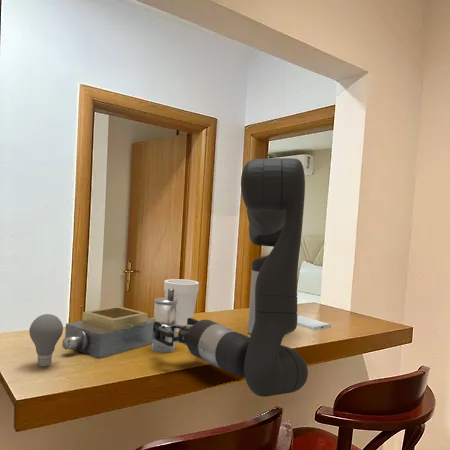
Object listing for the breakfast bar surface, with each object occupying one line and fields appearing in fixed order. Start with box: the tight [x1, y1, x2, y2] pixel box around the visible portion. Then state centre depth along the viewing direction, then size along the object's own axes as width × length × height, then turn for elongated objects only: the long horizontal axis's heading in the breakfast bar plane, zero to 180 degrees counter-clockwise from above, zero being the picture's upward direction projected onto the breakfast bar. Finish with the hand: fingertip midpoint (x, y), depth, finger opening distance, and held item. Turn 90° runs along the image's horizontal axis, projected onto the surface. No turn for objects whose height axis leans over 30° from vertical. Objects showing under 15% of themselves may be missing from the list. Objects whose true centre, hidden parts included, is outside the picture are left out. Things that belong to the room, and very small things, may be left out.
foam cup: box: [163, 278, 200, 333], centre depth 114 cm, size 10×9×13 cm
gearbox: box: [61, 305, 154, 359], centre depth 96 cm, size 22×12×7 cm, turn 146°
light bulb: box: [29, 313, 64, 368], centre depth 81 cm, size 6×6×10 cm
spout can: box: [151, 289, 178, 354], centre depth 96 cm, size 5×5×14 cm
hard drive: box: [297, 314, 332, 331], centre depth 129 cm, size 2×8×12 cm
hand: (172, 324), depth 93 cm, fingers open, 8 cm apart
